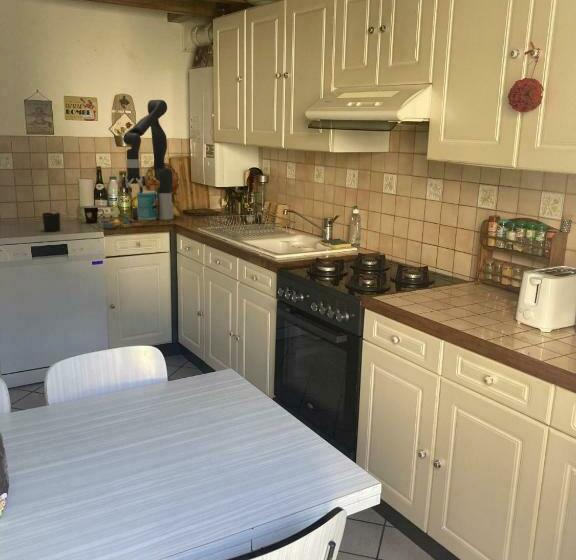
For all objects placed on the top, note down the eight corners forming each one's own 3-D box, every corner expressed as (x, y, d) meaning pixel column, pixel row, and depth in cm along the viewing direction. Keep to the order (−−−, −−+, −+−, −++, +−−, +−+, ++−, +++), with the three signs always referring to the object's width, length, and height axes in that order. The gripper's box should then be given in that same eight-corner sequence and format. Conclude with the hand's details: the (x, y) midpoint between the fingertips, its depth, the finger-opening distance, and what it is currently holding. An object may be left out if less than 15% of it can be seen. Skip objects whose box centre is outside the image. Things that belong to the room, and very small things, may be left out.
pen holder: (55, 228, 367) (54, 211, 364) (64, 230, 361) (62, 213, 359) (40, 230, 360) (39, 213, 357) (49, 232, 354) (47, 215, 352)
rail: (138, 223, 390) (138, 220, 389) (143, 225, 384) (143, 222, 383) (116, 225, 382) (116, 222, 382) (121, 226, 376) (121, 224, 375)
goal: (108, 225, 380) (108, 220, 379) (114, 227, 372) (114, 222, 371) (97, 226, 376) (97, 221, 376) (103, 228, 368) (103, 223, 368)
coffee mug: (81, 223, 388) (80, 207, 385) (91, 221, 395) (90, 205, 392) (95, 224, 382) (94, 208, 380) (105, 222, 390) (104, 206, 387)
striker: (138, 223, 389) (137, 207, 386) (142, 224, 384) (141, 208, 381) (124, 224, 384) (123, 208, 381) (127, 225, 379) (127, 209, 376)
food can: (136, 218, 409) (135, 190, 405) (154, 217, 414) (153, 190, 410) (140, 221, 399) (139, 192, 394) (159, 219, 404) (158, 192, 400)
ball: (118, 225, 381) (118, 219, 380) (121, 226, 378) (120, 219, 377) (112, 226, 378) (112, 219, 378) (114, 227, 375) (114, 220, 374)
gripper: (141, 166, 383) (142, 192, 387) (119, 166, 375) (120, 193, 379) (146, 166, 377) (147, 193, 381) (123, 167, 369) (125, 194, 373)
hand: (134, 193), depth 380 cm, fingers open, 8 cm apart
